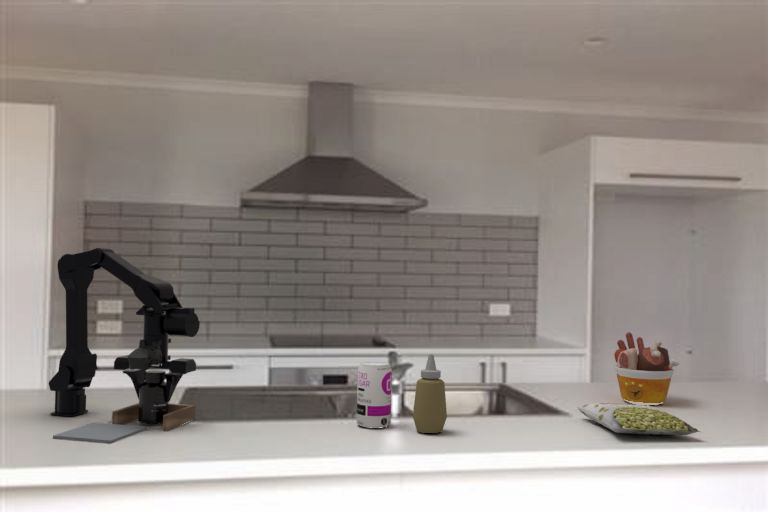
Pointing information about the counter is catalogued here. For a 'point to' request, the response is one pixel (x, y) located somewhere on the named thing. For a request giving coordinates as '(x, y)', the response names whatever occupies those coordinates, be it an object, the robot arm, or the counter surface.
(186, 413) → the walnut frame
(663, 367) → the bucket of meat
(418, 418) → the squeeze bottle
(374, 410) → the supplement can
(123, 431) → the grey mat
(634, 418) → the frozen beans
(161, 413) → the supplement bottle
